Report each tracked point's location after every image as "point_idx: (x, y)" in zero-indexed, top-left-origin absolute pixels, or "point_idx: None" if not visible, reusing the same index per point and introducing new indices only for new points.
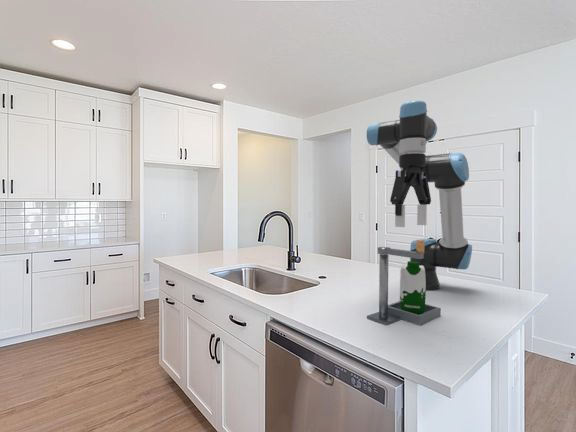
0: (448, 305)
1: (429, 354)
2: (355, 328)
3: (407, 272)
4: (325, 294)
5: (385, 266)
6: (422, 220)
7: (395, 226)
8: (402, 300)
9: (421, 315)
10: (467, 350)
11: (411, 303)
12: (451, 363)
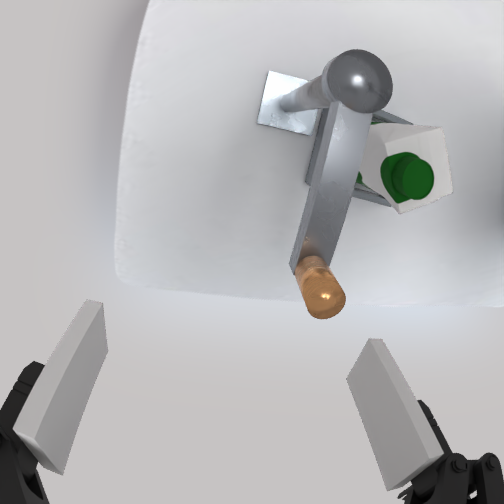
0: (447, 201)
1: (178, 238)
2: (193, 80)
3: (381, 159)
4: None
5: (319, 100)
6: (362, 389)
7: (86, 301)
8: None
9: None
10: (238, 278)
11: None
12: (173, 271)
